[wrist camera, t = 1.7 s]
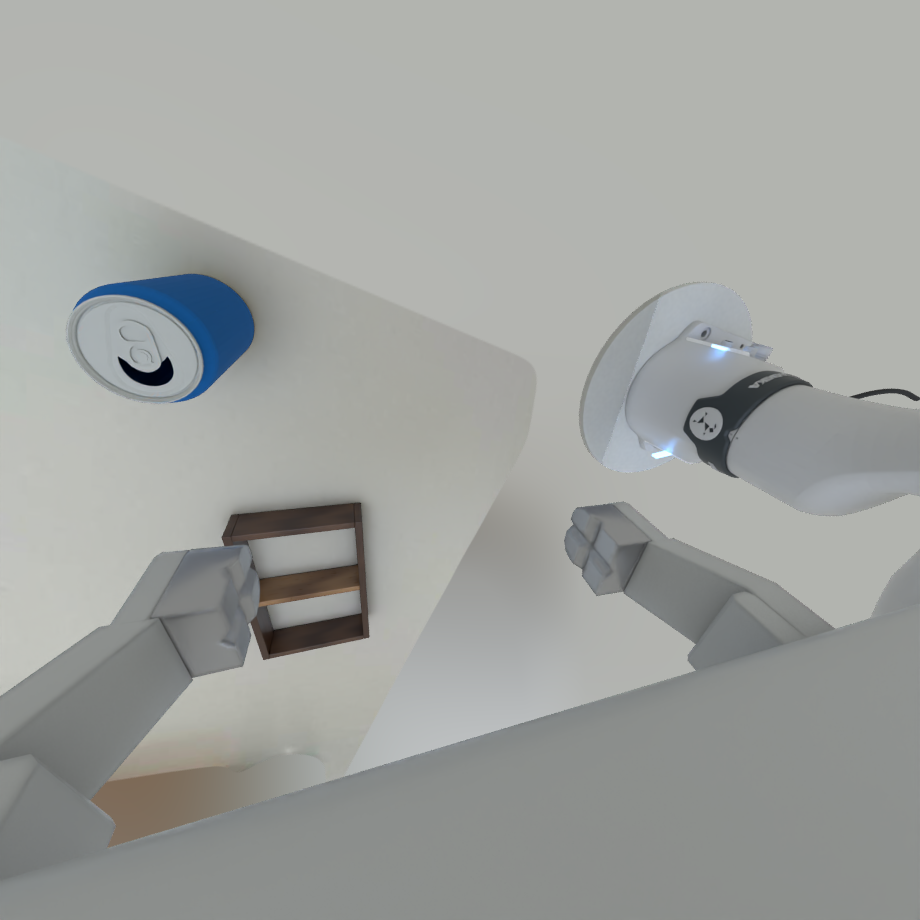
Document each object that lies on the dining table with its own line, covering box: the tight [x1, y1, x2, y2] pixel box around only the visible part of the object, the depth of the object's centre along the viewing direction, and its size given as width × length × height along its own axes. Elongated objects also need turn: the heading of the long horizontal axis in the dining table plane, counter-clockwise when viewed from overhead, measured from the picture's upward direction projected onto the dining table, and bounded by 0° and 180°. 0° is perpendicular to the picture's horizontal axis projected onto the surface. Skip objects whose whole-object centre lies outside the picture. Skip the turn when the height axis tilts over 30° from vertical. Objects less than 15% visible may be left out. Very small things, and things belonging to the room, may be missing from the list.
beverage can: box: [66, 274, 254, 404], centre depth 23 cm, size 6×6×12 cm
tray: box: [222, 503, 369, 660], centre depth 43 cm, size 14×22×4 cm, turn 174°
